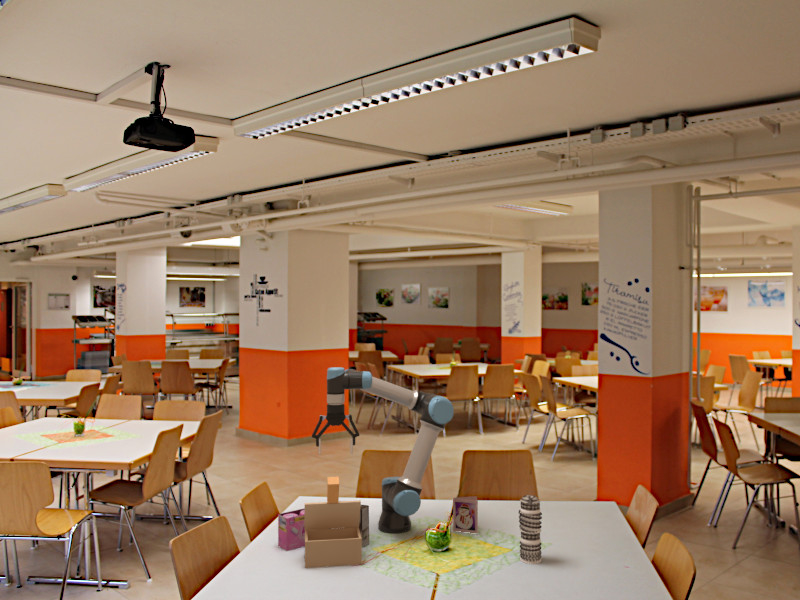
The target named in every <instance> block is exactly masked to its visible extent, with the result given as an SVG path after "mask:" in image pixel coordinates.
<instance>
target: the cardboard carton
mask: <svg viewBox="0 0 800 600" xmlns="http://www.w3.org/2000/svg"><path fill="white" fill-rule="evenodd" d="M362 552H363V550H362V538H361V534H360V530H359V527H352V528H332V529H314V530H305V546H304V568H306V569H308V568H309V569H310V568H322V567H323V568H325V567H326V566H328V567H340V566H342V565H345V566H356V565H357V566H360V565H362V563H363V561H362V559H363V557H362V556H363V554H362ZM358 564H360V565H358ZM342 567H343V566H342Z"/></svg>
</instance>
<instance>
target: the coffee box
mask: <svg viewBox="0 0 800 600" xmlns="http://www.w3.org/2000/svg"><path fill="white" fill-rule="evenodd" d="M369 509H370V506H369V505H367V504H361V506H360V521H359V530H360V534H361V538H362V548H364V547H366V546H367V545H369V544H370V513H369V512H370V511H369ZM350 528H352V527H350Z"/></svg>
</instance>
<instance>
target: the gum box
mask: <svg viewBox="0 0 800 600" xmlns="http://www.w3.org/2000/svg"><path fill="white" fill-rule="evenodd" d="M277 516H278V517H277V521H278V522H277V523H278V524H277V525H278V527H277V528H278V530H277V534H278V537H277V544H278V545H277V546H278V547H279V546H280V547H279V548H281V549H283V550H285V551H291V550H296V549H298V548H302V547H305V530H304V519H305V507H304V508H299V509H296V510H295V509H294V510H291V511H287V512H283V513H281V512H280V513H278V514H277ZM331 529H333V528H331ZM312 530H314V529H312Z"/></svg>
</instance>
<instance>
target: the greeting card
mask: <svg viewBox="0 0 800 600" xmlns="http://www.w3.org/2000/svg"><path fill="white" fill-rule="evenodd" d="M478 502H479V501H478V495H477V496H476V495H475V496H460V497H459V496H457V497H453V498H452V503H453V504H452V507H453V508H452V515H453V517H452V523H453V525H452V526H453V527H452V528H453V532H456V531H461V532H460V533H463V532H470V533H469V534H471V533H478V534H479V526H478V525H479V522H478V521H479V520H478V519H479V516H478V514H479V512H478V509H479V506H478Z"/></svg>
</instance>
